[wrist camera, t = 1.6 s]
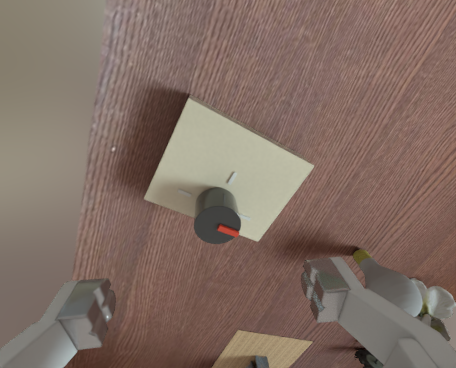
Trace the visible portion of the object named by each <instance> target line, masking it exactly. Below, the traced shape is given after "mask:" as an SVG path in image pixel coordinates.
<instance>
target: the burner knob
mask: <svg viewBox="0 0 456 368" xmlns="http://www.w3.org/2000/svg"><path fill="white" fill-rule="evenodd" d="M240 228H241V219H240V215H239V211H238V207H237V203H236V199H235V197H234V195H233V194H232V193H231V192H229V191H228V190H226V189H223V188H210V189H207V190H205V191H204V192H202V193H201V194H200V195H199V196H198V198H197V200H196V202H195V216H194V230H195V232H196V234H197V236H198V237H199V238H200V239H202V240H203V241H205V242H208V243H212V244H221V243H225V242H228V241H230V240H232V239H233V238H234V237H237V236H238V235H239V234H240V233H239V231H240Z"/></svg>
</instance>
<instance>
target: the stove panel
mask: <svg viewBox="0 0 456 368" xmlns="http://www.w3.org/2000/svg"><path fill="white" fill-rule="evenodd" d="M313 167H314V165H313V164H312V163H311V162H309V161H308V160H307V159H306V158H305V157H304V156H303V155H301V154H299V153H297V152H295V151H293V150H292V149H290V148H288V147H286V146H284V145H282V144H281V143H279V142H277V141H275V140H273V139H272V138H270V137H268V136H266V135H264V134H262V133H261V132H259V131H257V130H255V129H253V128H251V127H250V126H248V125H246V124H244V123H242V122H240V121H239V120H237V119H235V118H233V117H231V116H229V115H228V114H226V113H224V112H222V111H220V110H218V109H217V108H215V107H213V106H211V105H209V104H208V103H206V102H204V101H202V100H200V99H198V98H197V97H195V96H193V95H191V94H190V95H189V97H188V100H187V102H186V104H185V106H184V109H183V111H182V113H181V115H180V118H179V120H178V122H177V124H176V127H175V129H174V131H173V133H172V136H171V138H170V140H169V142H168V145H167V147H166V149H165V152H164V154H163V156H162V158H161V161H160V163H159V165H158V167H157V170H156V172H155V174H154V176H153V179H152V181H151V183H150V185H149V188H148V190H147V192H146V194H145V197H144V199H145V200H147V201H150V202H153V203H155V204H158V205H161V206H163V207H166V208H169V209H171V210H174V211H177V212H180V213H182V214H185V215H188V216H190V217H193V218H194V216H195V202H196V200H197V198H198V196H199V195H200V194H201V193H202V192H204V191H205V190H207V189H210V188H223V189H226V190H228V191H229V192H231V193H232V194H233V195H234V197H235V199H236V203H237V207H238V211H239V215H240V219H241V228H240V231H239V233H240V234H239V235H241V236H244V237H247V238H249V239H252V240H255V241H259V240H260V239H261V237H262V236H263V235H264V233H265V232H266V231H267V229H268V228H269V226H270V225H271V224H272V222H273V221H274V220H275V218H276V217H277V216H278V214H279V213H280V212H281V210H282V209H283V208H284V206H285V205H286V204H287V202H288V201H289V200H290V198H291V197H292V196H293V194H294V193H295V192H296V190H297V189H298V188H299V186H300V185H301V184H302V182H303V181H304V180H305V178H306V177H307V176H308V174H309V173H310V172H311V170H312V169H313Z"/></svg>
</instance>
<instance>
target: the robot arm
mask: <svg viewBox="0 0 456 368" xmlns="http://www.w3.org/2000/svg"><path fill="white" fill-rule="evenodd" d="M303 267H304V269H305V271H304V272H303V273H302V276H301V283H302V288H303V292H304V294H305V296H306V298H308V299H309V300H310V301H311V305H310V308H311V310H312V312H313V315H314V317H315V319H316V321H317V323H319V322H332V321H338V323H339V324H340V325H341V326H342V327H344V328H345V329H346V330H347V331H348V332H349V333H350V334H351V335H352V336H353V337H354V338H355V339H356V340H358V341H359V342H360V343H361V344H362V345H363V346H364V347H365V348H366V349H367V350H368V351H369V352H370V353H371V354H373V355H374V356H375V357H376V358H377V359H378V360H379V361H380V362H381V363H382V364H383V365H384V366H383V368H456V351H455V350H454V348H453V347H452V346H451V345H450V344H449V343H448V342H447V340H446V339H445V338H444V337H443V336H442V335H441V334H440V333H439V332H438V331H436V330H434V329H433V328H431V327H430V326H428V325H426V324H425V323H423V322H422V321H420V320H418V319H417V318H415V317H413V316H412V315H410V314H409V313H407V312H405V311H404V310H402V309H401V308H399V307H397V306H396V305H394V304H392V303H391V302H389V301H388V300H386V299H384V298H383V297H381V296H380V295H378V294H376V293H375V292H373V291H371V290H370V289H365V288H364V287H363V286H362V284H361V283H360V282H359V280H358V279H357V277H356V276H355V275H354V273H353V272H352V271H351V269H350V268H349V267H348V265H347V264H346V262H345V261H344V260H343V258H341V257H332V258H320V259H311V260H305V261H304V265H303ZM110 286H111V283H110V281H109V279H91V280H78V281H67V282H66V283H65V284H63V285H62V287H61V289H60V290H59V292H58V293H57V295H56V296H55V298H54V299H53V301H52V302H51V304H50V306H49V307H48V309H47V310H46V312H45V313H44V315H43V316H42V318H41V319H40V321H39V322H36V323H33V324H32V325H31V326H29V327H28V328H27V329H26V330H24V331H23V332H21V333H20V334H19V335H18V336H16V337H15V338H14V339H12V340H11V341H10V342H8V343H7V344H6V345H4V346H3V347H2V348H1V349H0V368H63V367H64V366H65V365H66V364H67V363H68V362H69V361H70V359H71V358H72V357H73V356H74V355H75V354H76V353H77V350H81V349H88V348H95V347H101V346H102V343H103V341H104V338H105V335H106V333H107V330H108V327H107V324H106V323H107V322H108V321H109V320H110V319H111V318H112V316H113V314H114V311H115V305H116V297H115V293H114V292H113V291H112V290H110V289H109V288H110Z"/></svg>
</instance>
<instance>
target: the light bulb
mask: <svg viewBox="0 0 456 368" xmlns="http://www.w3.org/2000/svg"><path fill="white" fill-rule="evenodd" d="M353 258H354V260H355V261H356V262H357V263H358V265H359V267H360V269H361V270H362V271H363V273H364V275H365V284H366V289H370V290H371V291H373V292H375V293H376V294H378V295H380V296H381V297H383V298H384V299H386V300H388V301H389V302H391V303H392V304H394V305H396V306H397V307H399V308H401V309H402V310H404V311H405V312H407V313H409V314H410V315H412V316H413V317H416V316H417V315H418V314H419V313H420V311H421V309H422V297H421V293H420V291H419V290H418V288H417V286H416V285H415V284H414V283H413V282H412V281H411V280H410V279H409V278H407V277H406V276H405V275H403V274H401V273H398V272H396V271H393V270H391V269H388V268H385V267H383V266H381V265H379V264H378V263H377V262H376V261H375V259H373V258H372V257H371V256H370V255H369V254H368V253H367V251H365V250H362V249H361V250H357V251H356V252H355V253H354V254H353Z"/></svg>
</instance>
